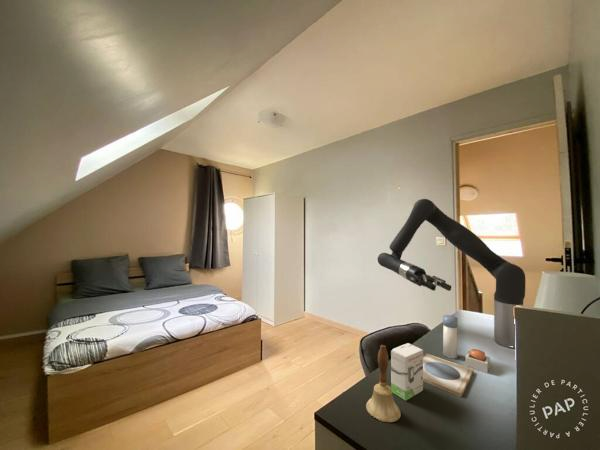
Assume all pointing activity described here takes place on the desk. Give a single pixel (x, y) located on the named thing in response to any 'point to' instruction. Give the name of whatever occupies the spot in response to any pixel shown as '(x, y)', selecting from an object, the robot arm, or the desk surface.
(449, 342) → the white bottle
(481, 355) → the button
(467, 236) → the robot arm
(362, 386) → the desk surface
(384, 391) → the hand bell
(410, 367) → the ink box
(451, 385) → the beige flat board
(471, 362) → the button housing
